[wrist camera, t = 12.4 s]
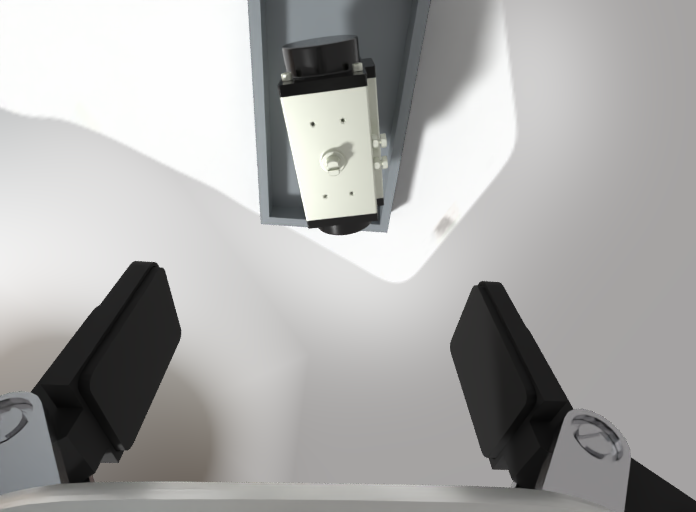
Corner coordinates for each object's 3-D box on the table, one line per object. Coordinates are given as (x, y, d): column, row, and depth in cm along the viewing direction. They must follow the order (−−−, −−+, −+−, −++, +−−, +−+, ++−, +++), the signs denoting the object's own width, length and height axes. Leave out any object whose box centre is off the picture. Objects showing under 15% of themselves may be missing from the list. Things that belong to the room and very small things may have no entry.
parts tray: (253, -52, 24) (244, -58, 22) (427, -31, 25) (436, -34, 23) (266, 208, 36) (260, 223, 33) (383, 216, 37) (387, 232, 34)
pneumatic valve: (318, 179, 33) (310, 256, 24) (292, 33, 26) (266, 57, 17) (377, 172, 33) (394, 247, 23) (367, 23, 26) (383, 41, 16)
